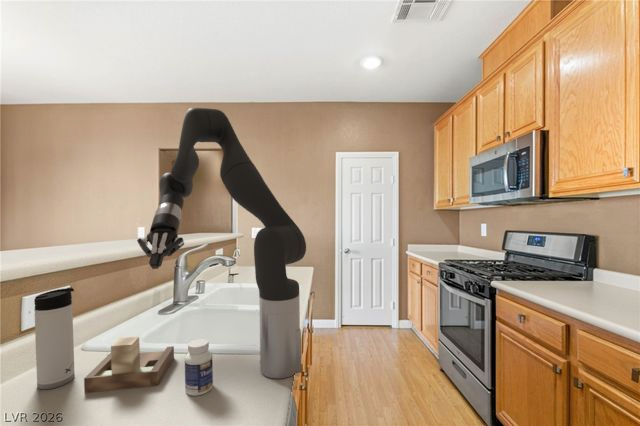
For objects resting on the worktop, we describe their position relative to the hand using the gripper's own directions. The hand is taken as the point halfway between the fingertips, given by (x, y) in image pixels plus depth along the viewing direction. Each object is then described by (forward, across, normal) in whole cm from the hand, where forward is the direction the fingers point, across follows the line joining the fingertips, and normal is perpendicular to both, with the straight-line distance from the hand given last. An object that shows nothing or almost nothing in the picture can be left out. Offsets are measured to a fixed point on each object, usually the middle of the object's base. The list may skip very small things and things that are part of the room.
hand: (154, 267), depth 86 cm
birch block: (+27, 0, 0) cm, 27 cm away
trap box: (+26, 0, +4) cm, 26 cm away
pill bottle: (+33, +16, -2) cm, 36 cm away
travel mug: (+26, -15, +4) cm, 31 cm away
